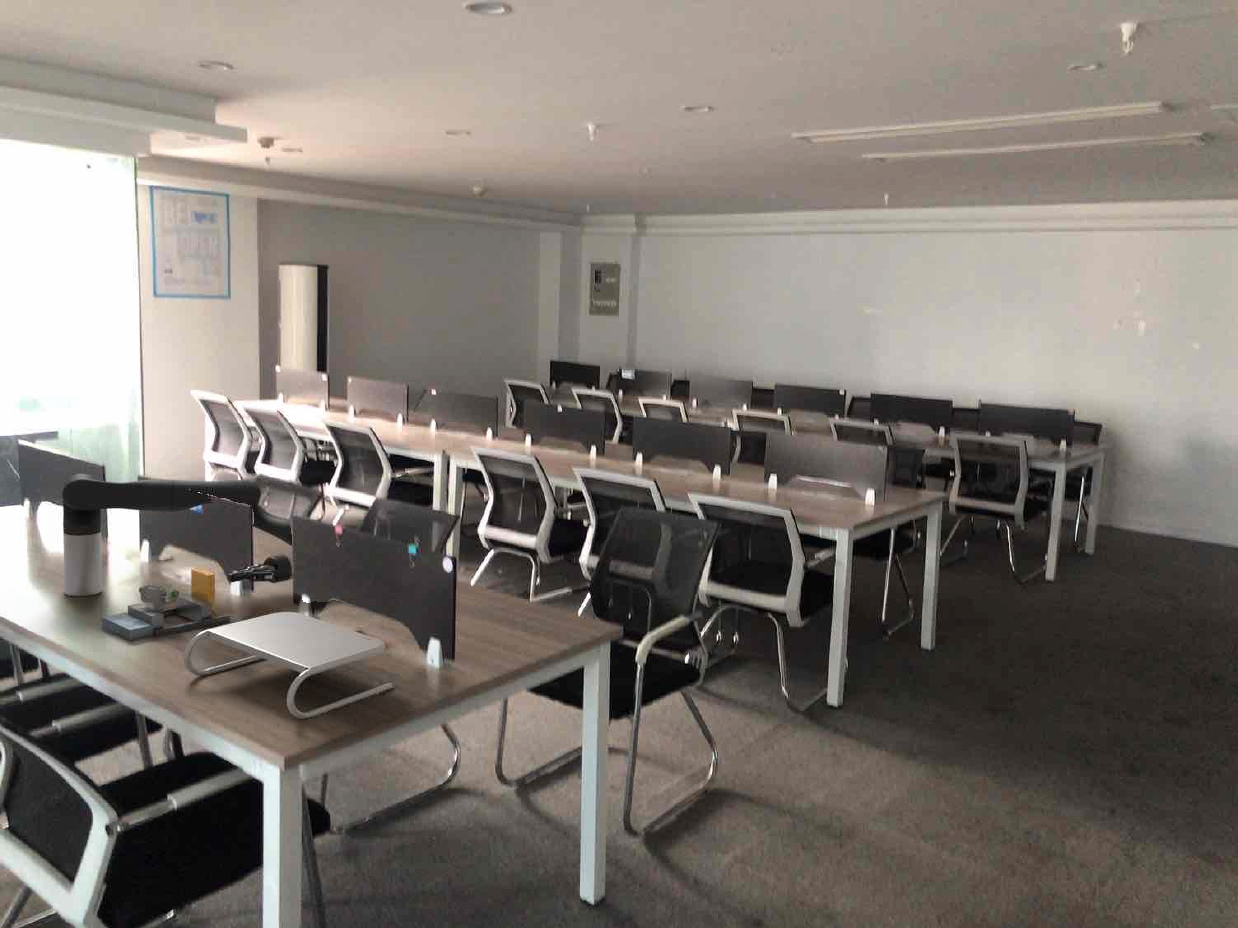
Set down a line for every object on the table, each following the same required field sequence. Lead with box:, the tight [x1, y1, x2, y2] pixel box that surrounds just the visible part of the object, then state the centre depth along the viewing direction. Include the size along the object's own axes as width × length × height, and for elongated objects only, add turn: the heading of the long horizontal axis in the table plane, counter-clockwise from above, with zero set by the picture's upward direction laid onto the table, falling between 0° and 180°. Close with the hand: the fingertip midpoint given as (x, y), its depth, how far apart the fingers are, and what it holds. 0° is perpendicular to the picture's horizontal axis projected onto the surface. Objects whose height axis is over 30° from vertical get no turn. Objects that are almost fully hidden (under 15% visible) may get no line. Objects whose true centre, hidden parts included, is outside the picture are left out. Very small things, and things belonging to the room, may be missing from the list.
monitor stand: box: [183, 611, 394, 720], centre depth 220 cm, size 37×28×11 cm
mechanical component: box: [138, 584, 180, 613], centre depth 253 cm, size 3×10×10 cm, turn 78°
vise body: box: [101, 603, 231, 643], centre depth 255 cm, size 16×26×5 cm, turn 143°
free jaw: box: [176, 567, 216, 622], centre depth 261 cm, size 12×5×12 cm, turn 53°
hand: (229, 578), depth 268 cm, fingers closed
